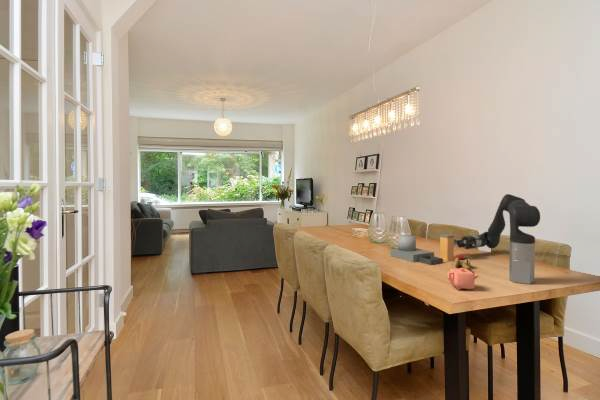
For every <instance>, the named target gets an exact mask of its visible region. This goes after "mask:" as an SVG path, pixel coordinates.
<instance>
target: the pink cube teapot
mask: <svg viewBox="0 0 600 400" xmlns="http://www.w3.org/2000/svg"><path fill="white" fill-rule="evenodd" d="M479 277H480V276H479V275H478V274H477V273H473V272H471V271H469V270H467V269H464V268H463V267H460V268H450V270H449V271H447V280H448V281H449V283H450V284H451V285H452V287H454V288H456V290H457V291H461V290H462V289H463V290H464V289H466V290H467V291H471V290H473V289H475V279H477V278H479Z"/></svg>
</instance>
